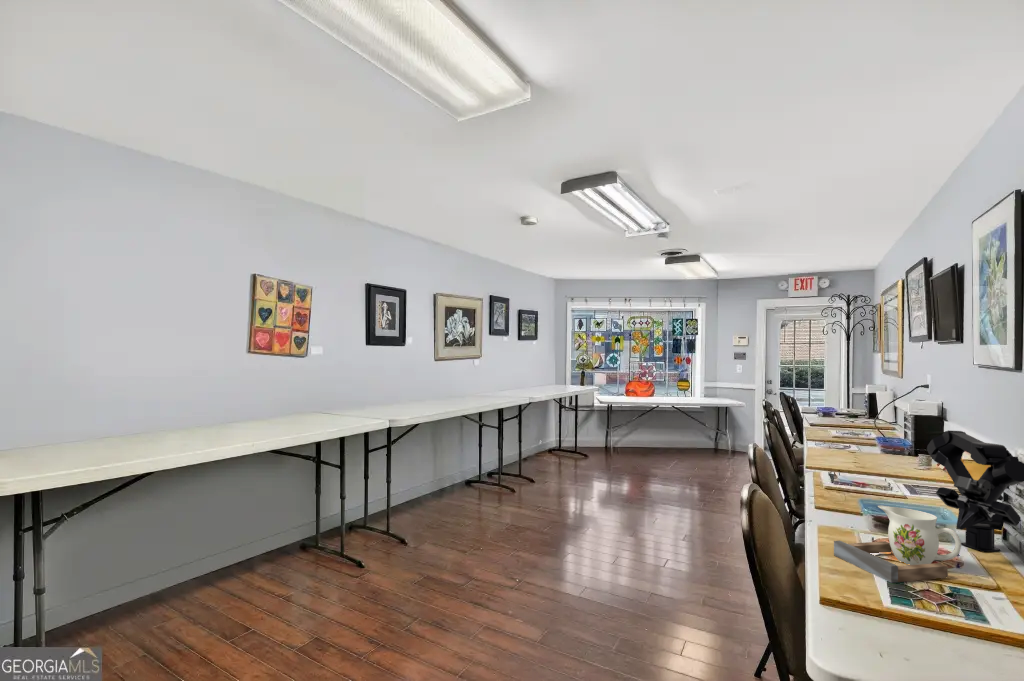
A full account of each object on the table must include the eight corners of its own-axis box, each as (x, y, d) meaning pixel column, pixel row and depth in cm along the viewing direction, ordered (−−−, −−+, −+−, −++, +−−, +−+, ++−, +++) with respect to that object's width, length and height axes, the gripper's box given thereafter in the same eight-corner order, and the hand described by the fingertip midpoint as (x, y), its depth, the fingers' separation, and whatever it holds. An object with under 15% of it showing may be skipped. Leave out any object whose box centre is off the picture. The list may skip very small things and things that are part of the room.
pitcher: (958, 580, 134) (958, 525, 134) (873, 559, 147) (873, 509, 147) (963, 568, 142) (962, 515, 142) (881, 549, 154) (881, 501, 155)
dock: (885, 551, 153) (885, 537, 153) (947, 577, 135) (947, 562, 135) (833, 555, 150) (833, 540, 150) (891, 582, 132) (891, 566, 132)
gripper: (940, 459, 157) (910, 498, 155) (1012, 474, 139) (978, 519, 137) (962, 485, 159) (932, 524, 157) (1035, 503, 141) (1002, 548, 138)
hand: (958, 528), depth 147 cm, fingers closed
